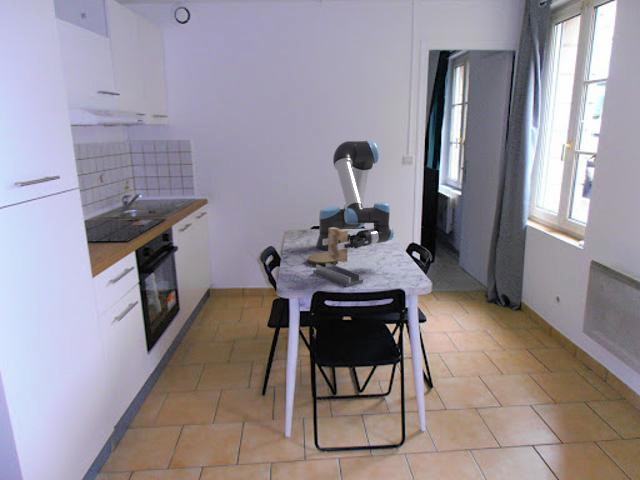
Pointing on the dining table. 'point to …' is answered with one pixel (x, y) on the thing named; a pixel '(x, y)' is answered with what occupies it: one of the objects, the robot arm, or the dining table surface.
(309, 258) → the wood log slice
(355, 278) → the track
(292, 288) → the dining table surface
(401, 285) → the dining table surface
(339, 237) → the door
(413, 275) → the dining table surface
